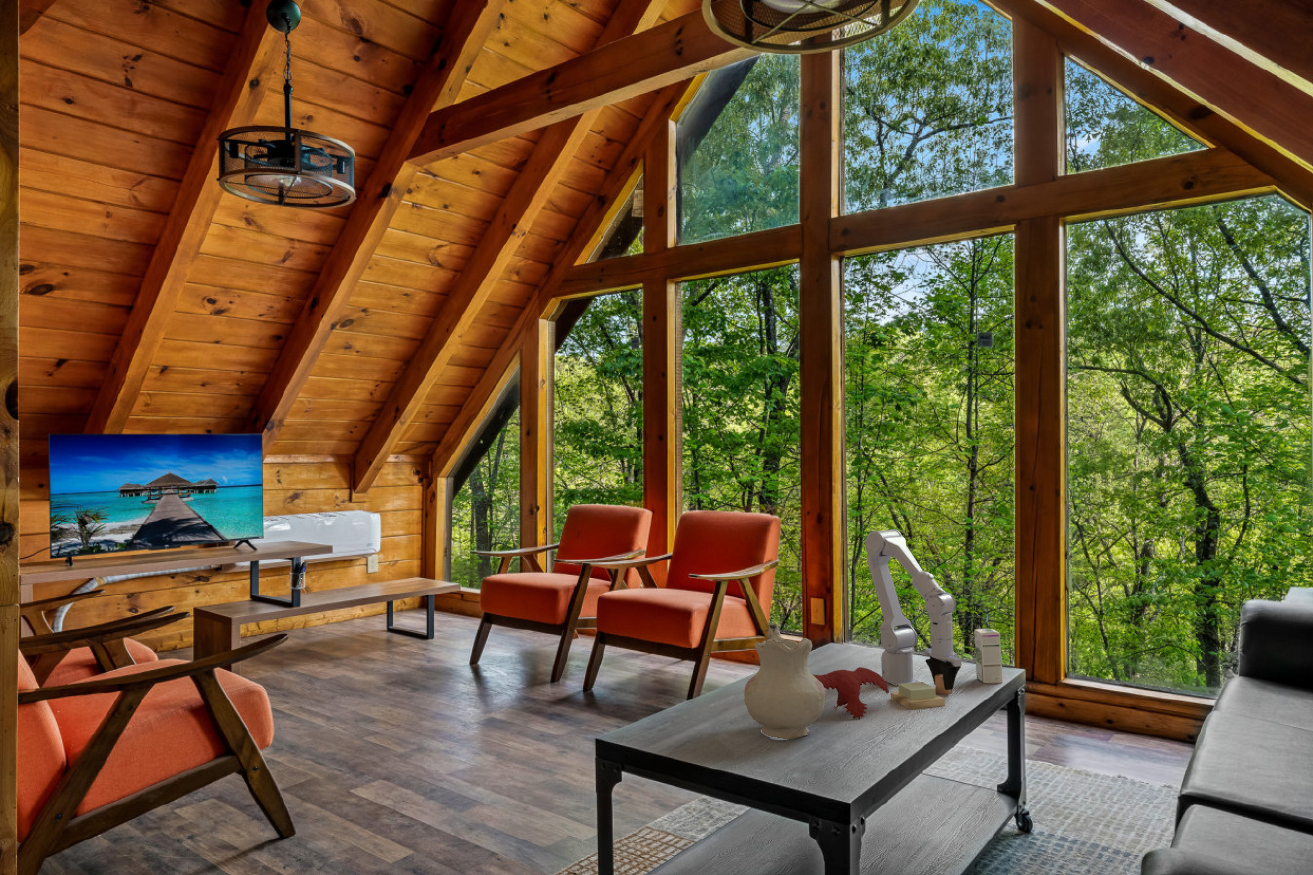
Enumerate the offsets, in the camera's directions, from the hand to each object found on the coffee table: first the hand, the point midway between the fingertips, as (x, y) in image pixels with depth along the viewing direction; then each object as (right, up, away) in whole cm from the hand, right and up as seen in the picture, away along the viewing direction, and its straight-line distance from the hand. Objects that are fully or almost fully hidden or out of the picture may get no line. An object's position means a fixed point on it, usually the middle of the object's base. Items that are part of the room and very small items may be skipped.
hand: (943, 687), depth 238 cm
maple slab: (-10, -2, -9) cm, 14 cm away
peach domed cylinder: (0, -1, 0) cm, 1 cm away
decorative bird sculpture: (-31, -2, -17) cm, 35 cm away
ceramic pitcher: (-49, -2, -30) cm, 57 cm away
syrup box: (+17, -2, +11) cm, 20 cm away
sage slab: (-10, 0, -9) cm, 14 cm away
